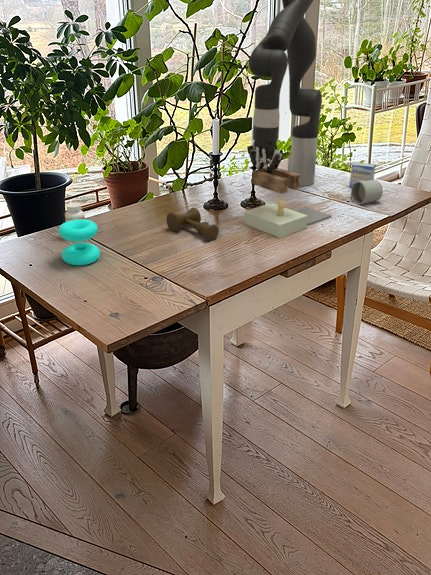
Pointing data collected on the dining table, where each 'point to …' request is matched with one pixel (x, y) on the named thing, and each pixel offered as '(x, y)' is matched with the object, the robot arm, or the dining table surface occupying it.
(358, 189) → the ceramic mug
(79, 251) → the donuts
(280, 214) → the stand
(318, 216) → the coaster
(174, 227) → the brown dog bone
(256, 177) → the c link
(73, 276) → the dining table surface
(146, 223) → the dining table surface
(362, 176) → the medicine box
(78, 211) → the supplement bottle
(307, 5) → the robot arm
